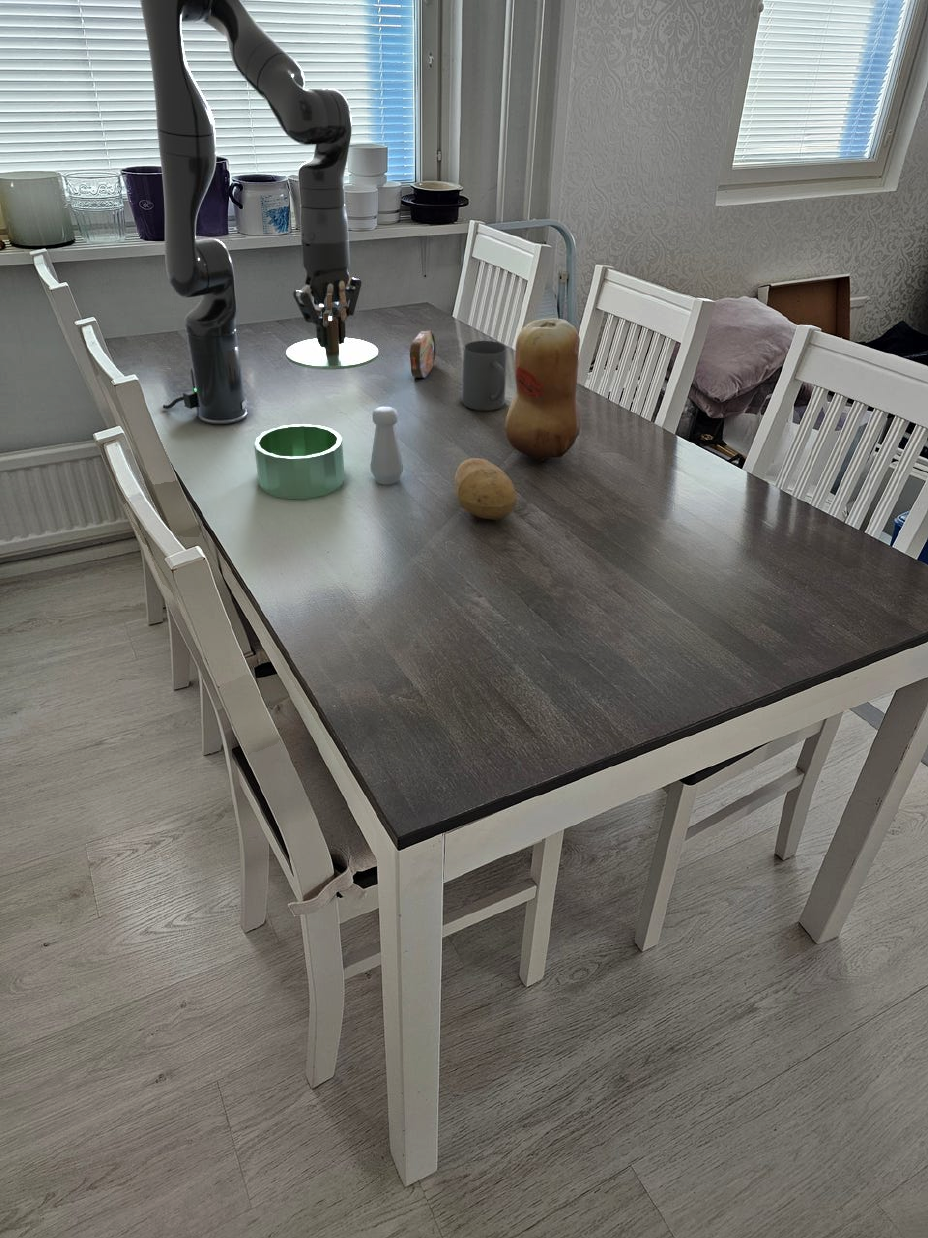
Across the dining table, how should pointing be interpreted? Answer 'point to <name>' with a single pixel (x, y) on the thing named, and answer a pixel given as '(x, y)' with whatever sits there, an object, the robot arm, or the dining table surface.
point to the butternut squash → (545, 390)
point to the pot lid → (332, 352)
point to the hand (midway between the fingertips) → (331, 344)
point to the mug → (484, 375)
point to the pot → (299, 461)
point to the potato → (484, 489)
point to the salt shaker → (386, 447)
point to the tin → (422, 354)
